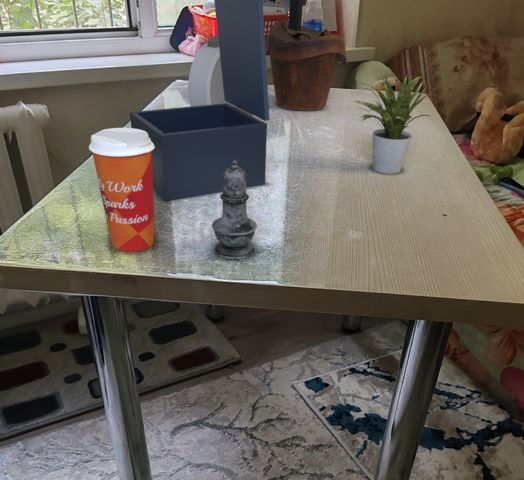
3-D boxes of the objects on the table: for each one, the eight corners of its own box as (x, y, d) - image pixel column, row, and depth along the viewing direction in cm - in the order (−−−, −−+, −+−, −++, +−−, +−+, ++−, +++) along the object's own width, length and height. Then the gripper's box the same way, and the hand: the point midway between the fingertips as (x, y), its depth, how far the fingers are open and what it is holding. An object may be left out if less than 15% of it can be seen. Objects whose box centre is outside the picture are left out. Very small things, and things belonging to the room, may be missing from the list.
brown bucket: (339, 116, 131) (349, 31, 121) (257, 110, 133) (260, 26, 123) (342, 100, 146) (351, 22, 135) (268, 95, 148) (271, 18, 137)
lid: (256, -21, 75) (295, -26, 77) (211, -27, 85) (246, -32, 87) (265, 121, 87) (298, 113, 89) (224, 100, 97) (255, 93, 99)
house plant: (366, 150, 110) (379, 60, 101) (433, 163, 105) (454, 69, 95) (336, 169, 101) (347, 71, 91) (408, 185, 95) (428, 82, 85)
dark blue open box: (166, 200, 86) (161, 135, 80) (135, 171, 96) (129, 112, 90) (265, 184, 93) (267, 123, 87) (227, 159, 103) (226, 102, 97)
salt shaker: (218, 238, 75) (216, 150, 68) (260, 243, 75) (262, 154, 68) (207, 257, 71) (204, 164, 64) (252, 262, 70) (254, 169, 63)
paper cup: (92, 250, 71) (74, 139, 63) (121, 227, 77) (108, 123, 69) (146, 259, 70) (135, 147, 61) (172, 235, 76) (164, 130, 67)
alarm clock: (227, 121, 125) (226, 29, 114) (264, 129, 120) (267, 34, 109) (180, 136, 114) (174, 36, 103) (218, 146, 109) (217, 43, 98)
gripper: (229, -181, 67) (229, 35, 80) (358, -161, 75) (338, 32, 88) (204, -173, 72) (207, 28, 86) (327, -155, 80) (313, 26, 94)
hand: (274, 30), depth 87 cm, fingers open, 7 cm apart
